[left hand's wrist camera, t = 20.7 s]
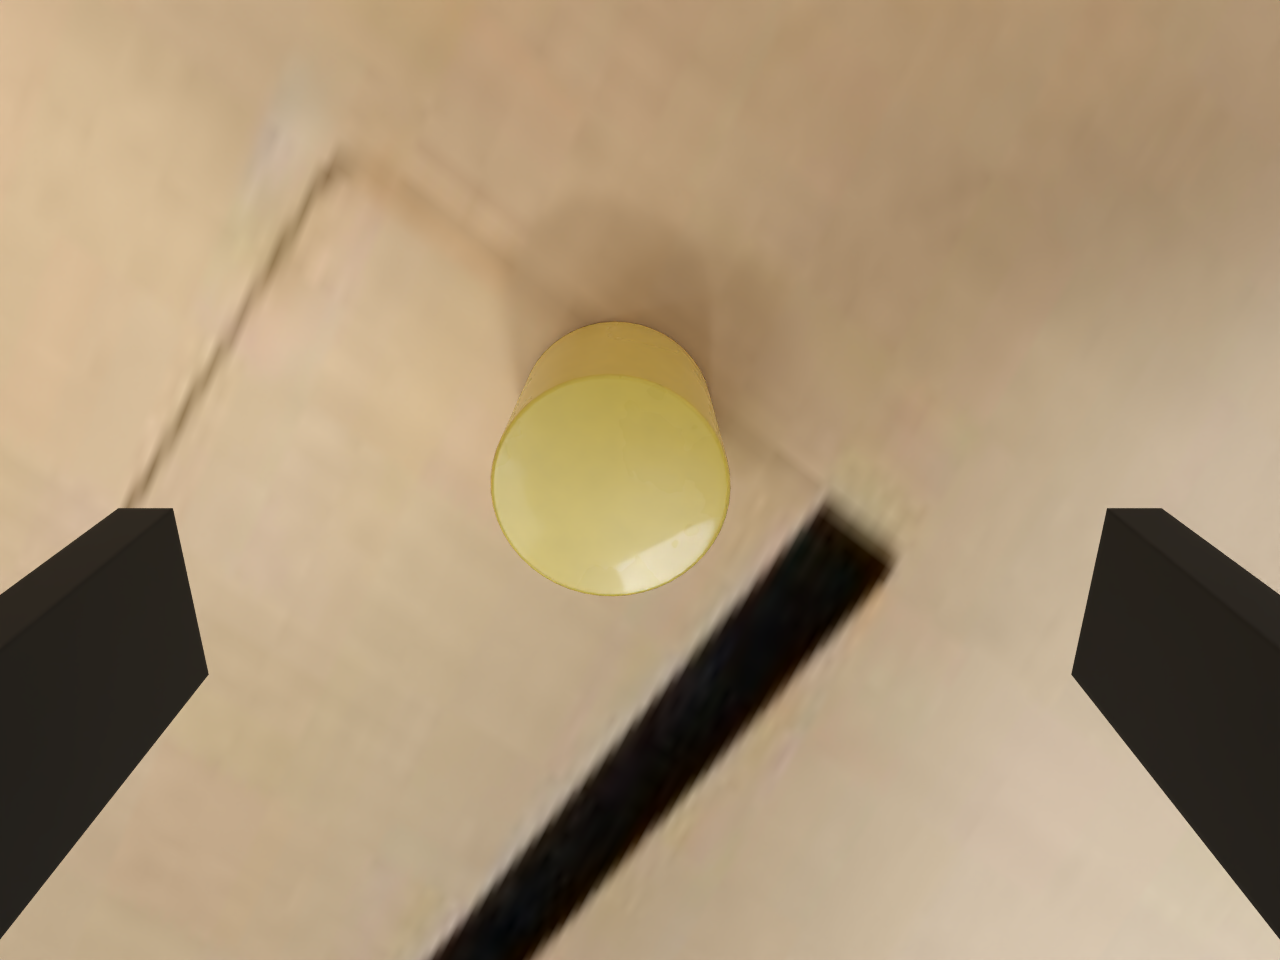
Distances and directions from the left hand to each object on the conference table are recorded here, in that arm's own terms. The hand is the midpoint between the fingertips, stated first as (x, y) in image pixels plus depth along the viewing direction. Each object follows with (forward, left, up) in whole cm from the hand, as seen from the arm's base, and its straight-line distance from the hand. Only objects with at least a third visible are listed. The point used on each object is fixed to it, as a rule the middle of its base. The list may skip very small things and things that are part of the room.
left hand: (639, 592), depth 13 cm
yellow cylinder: (0, 0, -8) cm, 8 cm away
